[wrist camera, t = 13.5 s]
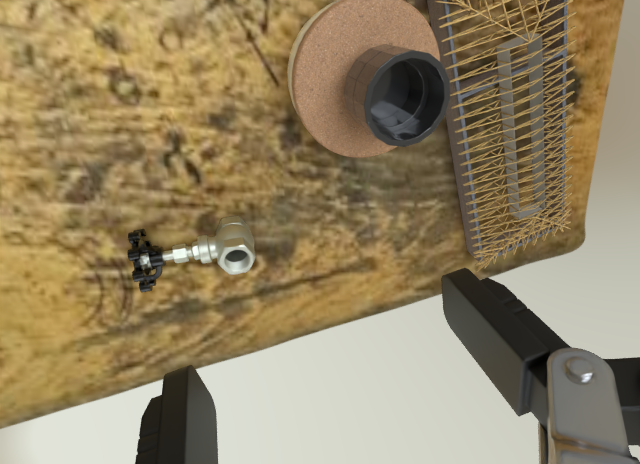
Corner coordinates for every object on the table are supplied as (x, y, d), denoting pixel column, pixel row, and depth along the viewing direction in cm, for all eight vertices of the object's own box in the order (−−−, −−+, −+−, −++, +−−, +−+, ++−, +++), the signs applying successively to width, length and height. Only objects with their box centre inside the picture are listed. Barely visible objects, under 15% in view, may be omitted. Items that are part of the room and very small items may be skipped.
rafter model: (415, -12, 38) (449, -15, 33) (550, -70, 38) (603, -81, 33) (462, 258, 57) (488, 283, 52) (551, 217, 57) (586, 238, 52)
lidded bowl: (420, 50, 41) (483, 64, 32) (348, 151, 44) (386, 191, 35) (324, -39, 35) (369, -54, 26) (250, 86, 38) (266, 113, 29)
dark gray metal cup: (349, 137, 32) (372, 157, 28) (334, 56, 28) (357, 66, 24) (419, 115, 32) (451, 131, 28) (412, 34, 29) (448, 39, 25)
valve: (246, 200, 44) (132, 218, 42) (253, 228, 39) (122, 251, 36) (254, 249, 48) (149, 268, 45) (261, 282, 42) (142, 305, 40)
